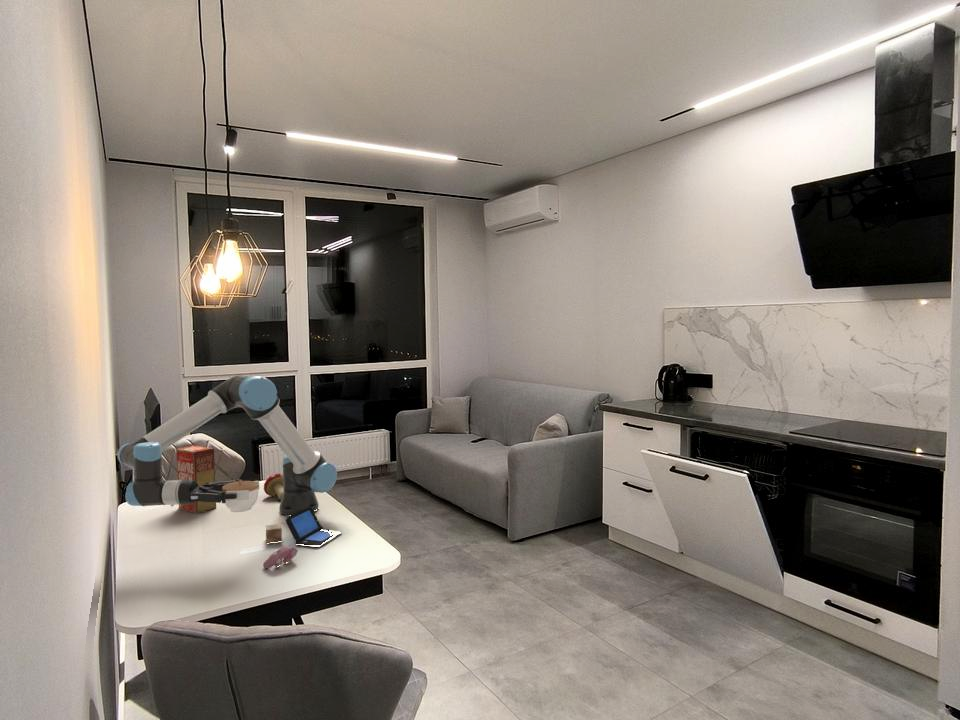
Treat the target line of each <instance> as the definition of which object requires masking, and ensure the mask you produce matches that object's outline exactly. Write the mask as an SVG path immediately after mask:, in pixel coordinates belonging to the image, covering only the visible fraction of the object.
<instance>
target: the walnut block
mask: <svg viewBox="0 0 960 720" xmlns="http://www.w3.org/2000/svg"><path fill="white" fill-rule="evenodd" d="M282 535H283V533H282V523H277V524H268V525H265V543H270V542H278V541H282V542H283V536H282Z"/></svg>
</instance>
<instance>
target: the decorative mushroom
mask: <svg viewBox="0 0 960 720" xmlns="http://www.w3.org/2000/svg"><path fill="white" fill-rule="evenodd" d="M263 490H264V493H265V494H266V495H268V496H269V497H277V498H278V499H279V501H281V500H282V497H283V493H284V487H283V473H275V474H274V473H273V474H272V475H270V476H269V477H268V478H266V480H265V482H264V484H263ZM275 495H277V496H275Z"/></svg>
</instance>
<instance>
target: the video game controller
mask: <svg viewBox="0 0 960 720" xmlns="http://www.w3.org/2000/svg"><path fill="white" fill-rule="evenodd" d="M298 551H299V550H298V549H297V548H296V546H295V547H294V546H292V545H289V546H283V547H280V548H279V549H278V550H275V551H274V552H273V553H272V554H271V555H270V556H269V557H268V558H267V559H266V560H264V561H263V566H262V567H263V569H264V568H269V569H270V568H272V567H275V568H276V567H277V566H279V565H281V566H282V565H283V564H284V563H286V562H289V561H290V562H291V560H292V559H293V558H295V557H296V556H297V554H298ZM290 562H289V563H290Z"/></svg>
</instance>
